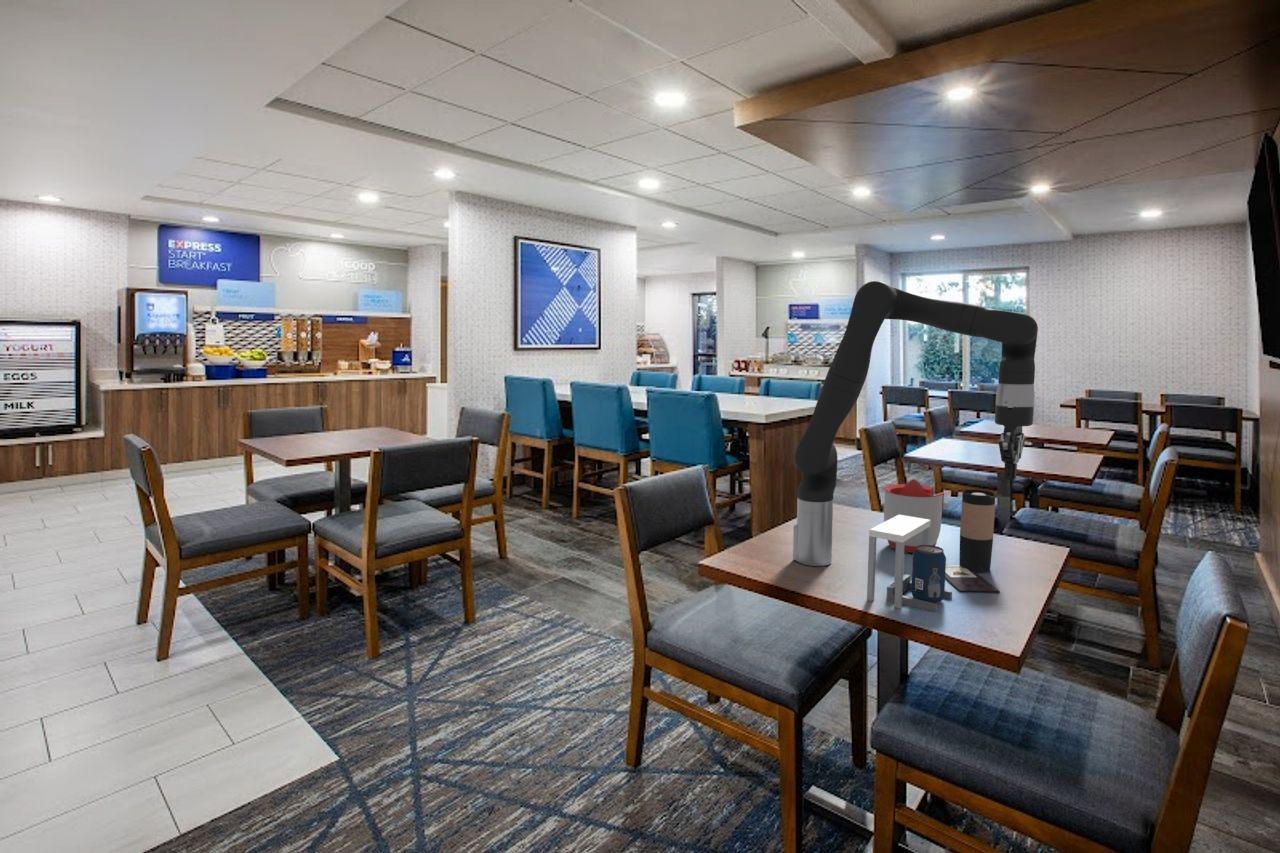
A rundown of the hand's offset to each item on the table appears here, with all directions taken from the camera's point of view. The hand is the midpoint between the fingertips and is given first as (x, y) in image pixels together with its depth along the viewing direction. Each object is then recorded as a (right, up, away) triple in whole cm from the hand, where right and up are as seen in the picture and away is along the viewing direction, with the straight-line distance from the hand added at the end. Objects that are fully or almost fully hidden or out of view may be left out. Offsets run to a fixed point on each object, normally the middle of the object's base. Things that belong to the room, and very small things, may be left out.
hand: (1009, 479), depth 151 cm
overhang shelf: (-22, -27, +2) cm, 35 cm away
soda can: (-19, -28, 0) cm, 33 cm away
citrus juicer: (-6, -23, +38) cm, 44 cm away
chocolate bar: (-4, -26, +13) cm, 30 cm away
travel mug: (+2, -25, +20) cm, 32 cm away
